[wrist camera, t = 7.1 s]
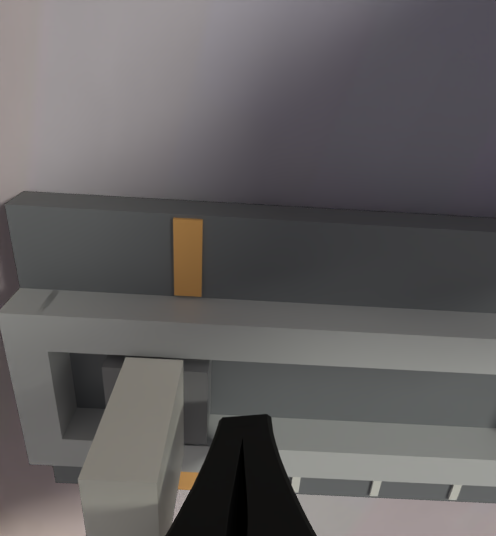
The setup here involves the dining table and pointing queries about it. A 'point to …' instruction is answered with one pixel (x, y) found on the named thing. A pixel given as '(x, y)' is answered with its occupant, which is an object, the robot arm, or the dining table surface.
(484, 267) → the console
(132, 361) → the fader
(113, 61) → the dining table surface
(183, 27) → the dining table surface
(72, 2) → the dining table surface
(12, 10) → the dining table surface
